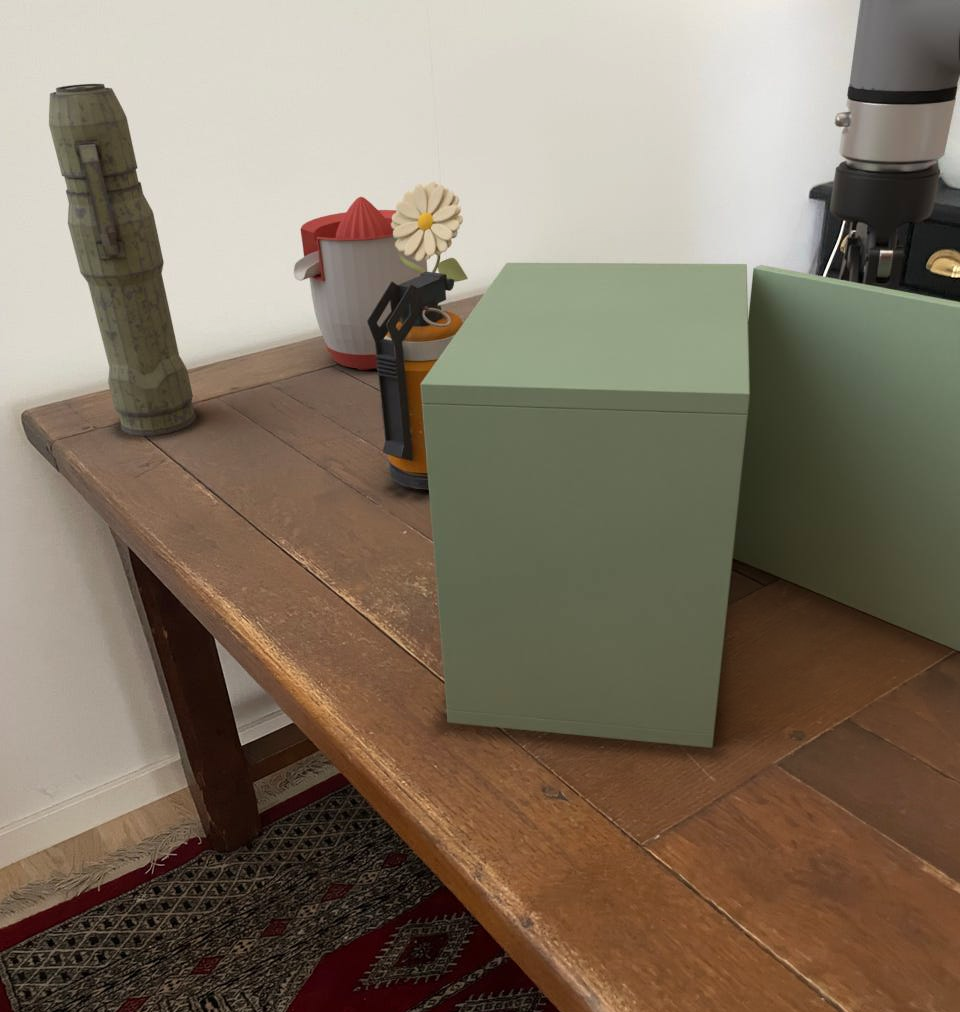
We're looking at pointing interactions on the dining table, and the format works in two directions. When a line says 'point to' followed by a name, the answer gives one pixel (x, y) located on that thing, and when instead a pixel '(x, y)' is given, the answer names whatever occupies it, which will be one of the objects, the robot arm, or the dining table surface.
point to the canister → (410, 366)
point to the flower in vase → (428, 227)
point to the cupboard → (589, 497)
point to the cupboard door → (855, 447)
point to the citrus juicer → (351, 277)
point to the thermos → (120, 259)
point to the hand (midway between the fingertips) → (842, 426)
